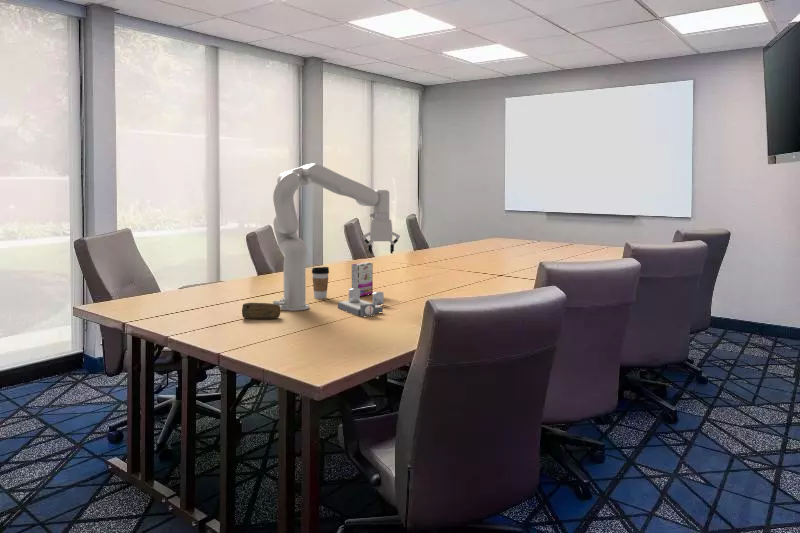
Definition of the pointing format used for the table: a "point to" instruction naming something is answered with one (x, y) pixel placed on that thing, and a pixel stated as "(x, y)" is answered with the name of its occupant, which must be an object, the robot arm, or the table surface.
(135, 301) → the table surface
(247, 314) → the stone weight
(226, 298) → the table surface
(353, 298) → the cylinder
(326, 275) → the coffee cup
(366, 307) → the scale
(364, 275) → the candy bar box
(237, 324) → the table surface
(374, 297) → the cylinder
